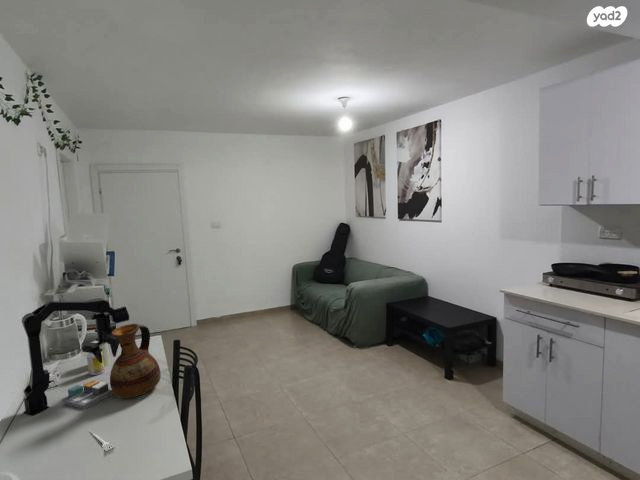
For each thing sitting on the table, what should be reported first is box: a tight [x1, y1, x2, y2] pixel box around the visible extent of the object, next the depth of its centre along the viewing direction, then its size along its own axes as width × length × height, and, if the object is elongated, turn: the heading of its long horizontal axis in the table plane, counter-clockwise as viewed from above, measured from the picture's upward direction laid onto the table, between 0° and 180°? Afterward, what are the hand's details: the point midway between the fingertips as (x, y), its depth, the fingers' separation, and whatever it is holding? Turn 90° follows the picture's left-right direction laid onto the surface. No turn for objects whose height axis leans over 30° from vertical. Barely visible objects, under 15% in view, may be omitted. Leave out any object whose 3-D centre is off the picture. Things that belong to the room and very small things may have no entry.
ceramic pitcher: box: [109, 323, 162, 399], centre depth 167 cm, size 20×20×30 cm
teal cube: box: [67, 384, 84, 398], centre depth 167 cm, size 4×4×4 cm
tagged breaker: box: [82, 380, 100, 394], centre depth 166 cm, size 4×4×3 cm
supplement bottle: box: [86, 352, 105, 376], centre depth 189 cm, size 7×7×13 cm
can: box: [91, 340, 111, 367], centre depth 199 cm, size 9×9×12 cm
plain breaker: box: [92, 381, 110, 396], centre depth 164 cm, size 4×4×3 cm
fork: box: [92, 433, 116, 452], centre depth 133 cm, size 3×20×2 cm, turn 51°
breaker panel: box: [64, 389, 114, 410], centre depth 163 cm, size 13×12×2 cm
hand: (107, 359), depth 174 cm, fingers open, 7 cm apart
